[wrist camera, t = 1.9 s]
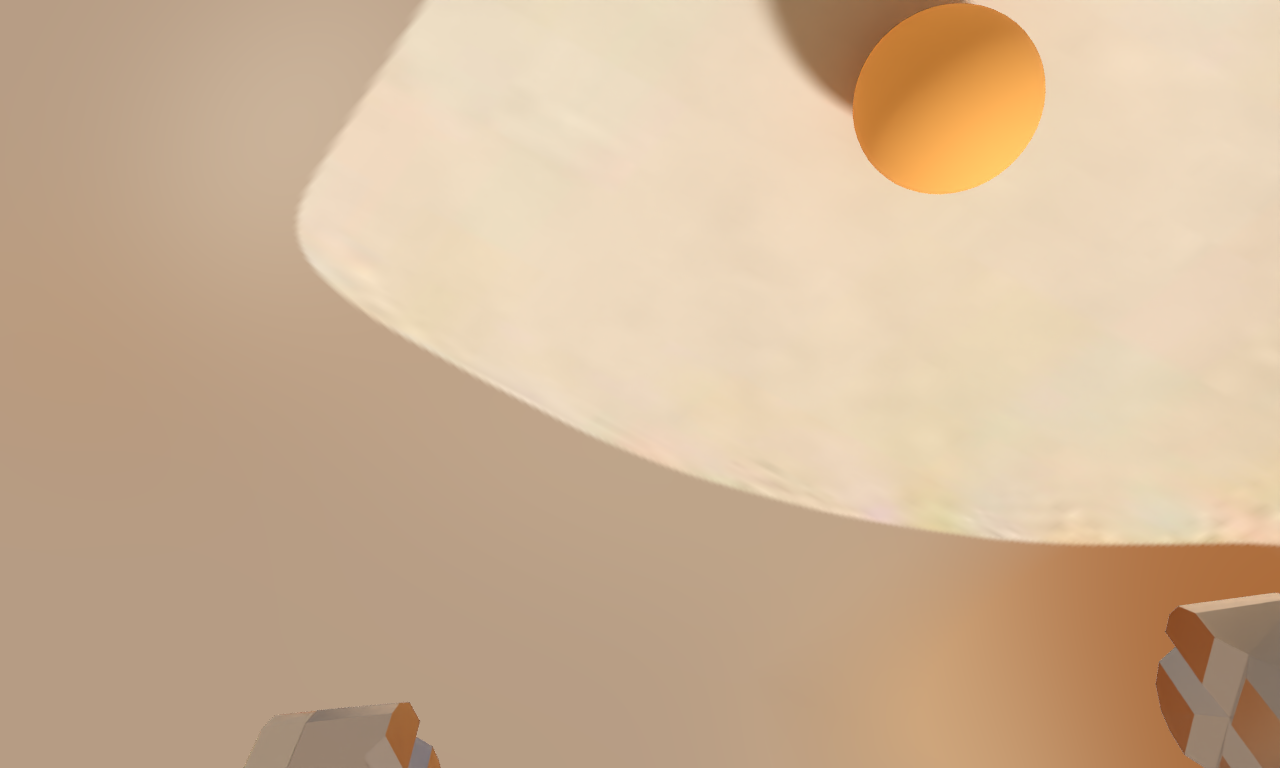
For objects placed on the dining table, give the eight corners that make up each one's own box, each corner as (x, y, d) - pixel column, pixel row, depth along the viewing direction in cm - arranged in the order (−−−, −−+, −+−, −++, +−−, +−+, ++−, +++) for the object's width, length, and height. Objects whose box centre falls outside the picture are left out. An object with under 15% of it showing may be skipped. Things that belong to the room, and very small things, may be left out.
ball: (998, -30, 26) (1068, -19, 21) (1017, 140, 28) (1084, 184, 23) (824, 29, 27) (853, 52, 22) (857, 188, 29) (889, 239, 24)
